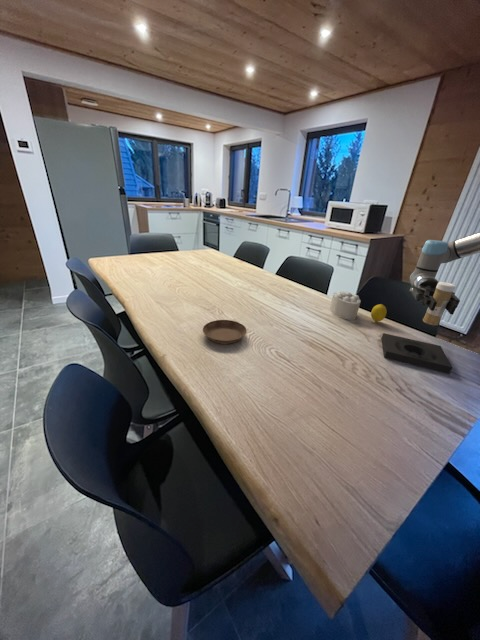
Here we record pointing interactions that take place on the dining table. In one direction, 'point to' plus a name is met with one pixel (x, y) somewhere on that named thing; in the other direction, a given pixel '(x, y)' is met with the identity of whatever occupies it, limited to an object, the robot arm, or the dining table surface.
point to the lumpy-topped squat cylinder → (345, 305)
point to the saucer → (224, 331)
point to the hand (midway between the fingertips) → (443, 308)
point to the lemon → (378, 312)
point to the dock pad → (427, 352)
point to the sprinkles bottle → (439, 302)
